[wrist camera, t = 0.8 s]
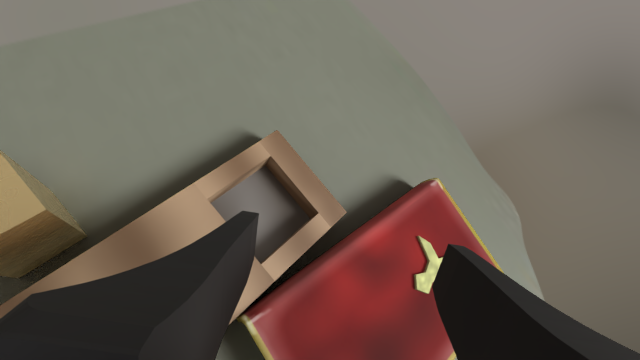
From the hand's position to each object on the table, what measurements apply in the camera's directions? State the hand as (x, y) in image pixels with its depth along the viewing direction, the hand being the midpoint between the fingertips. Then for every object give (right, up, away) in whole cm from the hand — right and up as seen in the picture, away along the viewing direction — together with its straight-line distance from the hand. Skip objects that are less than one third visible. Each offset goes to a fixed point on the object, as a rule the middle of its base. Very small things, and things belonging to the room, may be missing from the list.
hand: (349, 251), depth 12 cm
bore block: (-9, -3, +11) cm, 15 cm away
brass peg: (-19, -1, +8) cm, 21 cm away
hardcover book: (+4, -8, +16) cm, 18 cm away
